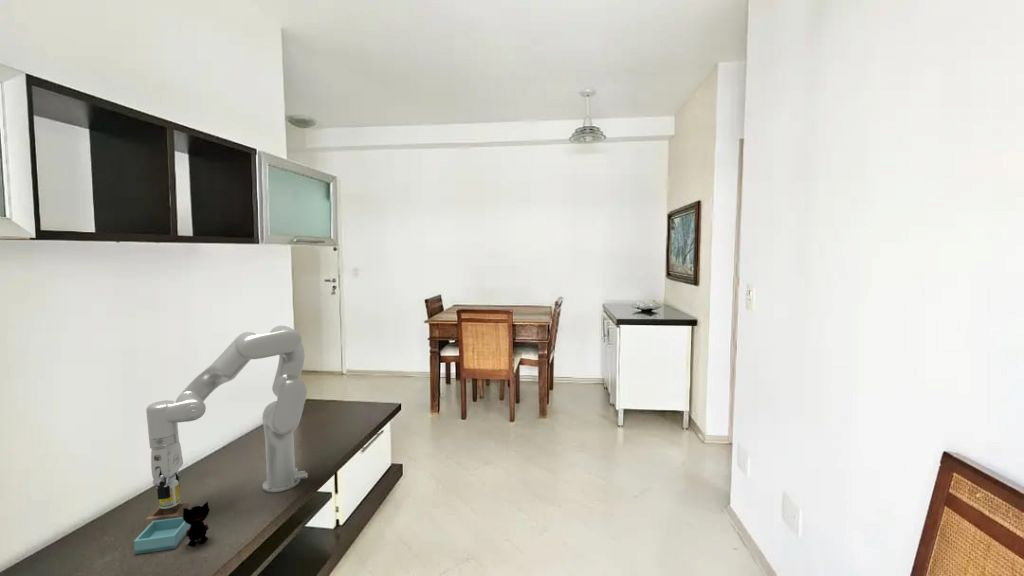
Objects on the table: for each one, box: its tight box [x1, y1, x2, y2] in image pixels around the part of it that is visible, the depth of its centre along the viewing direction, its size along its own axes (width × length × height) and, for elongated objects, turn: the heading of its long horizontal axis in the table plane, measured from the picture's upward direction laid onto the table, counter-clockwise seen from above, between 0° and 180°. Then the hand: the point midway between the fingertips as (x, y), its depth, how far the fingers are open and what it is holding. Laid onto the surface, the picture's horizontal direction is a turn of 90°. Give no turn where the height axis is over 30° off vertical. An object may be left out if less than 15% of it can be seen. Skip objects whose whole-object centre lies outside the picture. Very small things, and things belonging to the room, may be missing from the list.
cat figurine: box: [183, 500, 210, 547], centre depth 135 cm, size 7×7×12 cm
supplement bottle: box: [158, 474, 181, 509], centre depth 146 cm, size 5×5×10 cm
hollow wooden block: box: [145, 500, 191, 529], centre depth 147 cm, size 9×9×4 cm
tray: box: [133, 517, 191, 555], centre depth 136 cm, size 10×10×4 cm
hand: (169, 492), depth 146 cm, fingers closed on supplement bottle, 5 cm apart
